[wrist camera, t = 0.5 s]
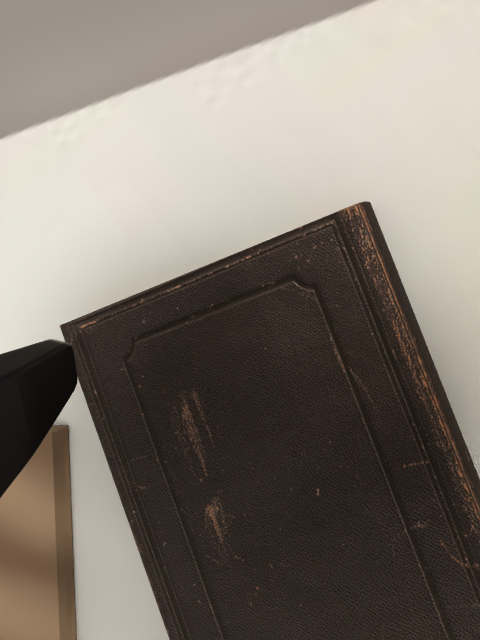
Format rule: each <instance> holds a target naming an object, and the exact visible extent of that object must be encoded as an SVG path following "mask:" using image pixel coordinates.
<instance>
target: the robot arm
mask: <svg viewBox="0 0 480 640" xmlns="http://www.w3.org/2000/svg"><path fill="white" fill-rule="evenodd" d="M76 384H77V371H76V364H75V357H74V350H73V348H72V346H71V345H70V344H69V343H66V342H62V341H58V340H53V339H49V340H46V341H42V342H39V343H36V344H33V345H29V346H26V347H23V348H20V349H16V350H13V351H10V352H7V353H3V354H0V498H1V497H2V495H3V494H4V493H5V492H6V490H7V489H8V488H9V486H10V485H11V484H12V482H13V481H14V480H15V479H16V477H17V476H18V475H19V473H20V472H21V471H22V470H23V468H24V467H25V466H26V464H27V463H28V462H29V460H30V459H31V458H32V456H33V455H34V453H35V452H36V450H37V449H38V447H39V446H40V444H41V443H42V441H43V440H44V438H45V436H46V435H47V433H48V432H49V430H50V428H51V427H52V425H53V424H54V422H55V420H56V419H57V417H58V416H59V414H60V412H61V411H62V409H63V408H64V406H65V404H66V403H67V401H68V400H69V398H70V396H71V395H72V393H73V392H74V390H75V387H76Z"/></svg>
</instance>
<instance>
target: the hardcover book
mask: <svg viewBox="0 0 480 640" xmlns="http://www.w3.org/2000/svg"><path fill="white" fill-rule="evenodd" d="M60 328H61V330H62V333H63V336H64V339H65V342H66V343H69V344H70V345H71V346H72V348H73V350H74V357H75V364H76V371H77V376H78V379H79V382H80V385H81V388H82V390H83V393H84V396H85V399H86V402H87V405H88V408H89V410H90V413H91V416H92V419H93V422H94V425H95V428H96V430H97V433H98V436H99V439H100V442H101V445H102V448H103V450H104V453H105V456H106V459H107V462H108V465H109V468H110V470H111V473H112V476H113V479H114V482H115V485H116V488H117V490H118V493H119V496H120V499H121V502H122V505H123V507H124V510H125V513H126V516H127V519H128V522H129V525H130V527H131V530H132V533H133V536H134V539H135V542H136V545H137V547H138V550H139V553H140V556H141V559H142V562H143V565H144V567H145V570H146V573H147V576H148V579H149V582H150V585H151V587H152V590H153V593H154V596H155V599H156V602H157V605H158V607H159V610H160V613H161V616H162V619H163V622H164V625H165V627H166V630H167V633H168V636H169V639H170V640H480V479H479V477H478V474H477V472H476V469H475V467H474V464H473V461H472V459H471V456H470V454H469V451H468V449H467V446H466V444H465V441H464V439H463V436H462V434H461V431H460V429H459V426H458V423H457V421H456V418H455V416H454V413H453V411H452V408H451V406H450V403H449V401H448V398H447V396H446V393H445V391H444V388H443V385H442V383H441V380H440V378H439V375H438V373H437V370H436V368H435V365H434V363H433V360H432V358H431V355H430V353H429V350H428V347H427V345H426V342H425V340H424V337H423V335H422V332H421V330H420V327H419V325H418V322H417V320H416V317H415V315H414V312H413V309H412V307H411V304H410V302H409V299H408V297H407V294H406V292H405V289H404V287H403V284H402V282H401V279H400V277H399V274H398V271H397V269H396V266H395V264H394V261H393V259H392V256H391V254H390V251H389V249H388V246H387V244H386V241H385V239H384V236H383V234H382V231H381V228H380V226H379V223H378V221H377V218H376V216H375V213H374V211H373V208H372V206H371V203H370V202H361V203H358V204H355V205H353V206H350V207H348V208H345V209H343V210H341V211H338V212H336V213H333V214H331V215H328V216H326V217H323V218H321V219H319V220H316V221H314V222H311V223H309V224H306V225H304V226H302V227H299V228H297V229H294V230H292V231H289V232H287V233H284V234H282V235H280V236H277V237H275V238H272V239H270V240H267V241H265V242H262V243H260V244H258V245H255V246H253V247H250V248H248V249H245V250H243V251H241V252H238V253H236V254H233V255H231V256H228V257H226V258H223V259H221V260H219V261H216V262H214V263H211V264H209V265H206V266H204V267H201V268H199V269H197V270H194V271H192V272H189V273H187V274H184V275H182V276H180V277H177V278H175V279H172V280H170V281H167V282H165V283H162V284H160V285H158V286H155V287H153V288H150V289H148V290H145V291H143V292H141V293H138V294H136V295H133V296H131V297H128V298H126V299H123V300H121V301H119V302H116V303H114V304H111V305H109V306H106V307H104V308H101V309H99V310H97V311H94V312H92V313H89V314H87V315H84V316H82V317H80V318H77V319H75V320H72V321H70V322H67V323H65V324H62V325H60Z"/></svg>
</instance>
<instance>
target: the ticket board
mask: <svg viewBox="0 0 480 640" xmlns="http://www.w3.org/2000/svg"><path fill="white" fill-rule="evenodd" d="M0 640H76V620H75V594H74V568H73V542H72V516H71V490H70V464H69V438H68V426H52V427H51V428H50V430H49V432H48V433H47V435H46V436H45V438H44V440H43V441H42V443H41V444H40V446H39V447H38V449H37V450H36V452H35V453H34V455H33V456H32V458H31V459H30V460H29V462H28V463H27V464H26V466H25V467H24V468H23V470H22V471H21V472H20V473H19V475H18V476H17V477H16V479H15V480H14V481H13V482H12V484H11V485H10V486H9V488H8V489H7V490H6V492H5V493H4V494H3V495H2V497H1V498H0Z"/></svg>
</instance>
